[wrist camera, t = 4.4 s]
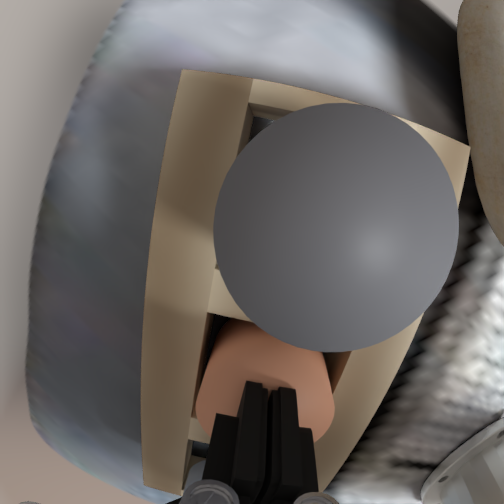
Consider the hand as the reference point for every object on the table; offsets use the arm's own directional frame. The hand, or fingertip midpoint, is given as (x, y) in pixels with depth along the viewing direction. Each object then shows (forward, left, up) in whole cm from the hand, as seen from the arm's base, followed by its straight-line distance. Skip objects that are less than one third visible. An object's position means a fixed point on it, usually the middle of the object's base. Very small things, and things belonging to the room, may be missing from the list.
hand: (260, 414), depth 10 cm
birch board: (0, 0, -5) cm, 5 cm away
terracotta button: (0, 0, -4) cm, 4 cm away
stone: (-8, -13, -5) cm, 16 cm away
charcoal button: (0, -7, -1) cm, 7 cm away
